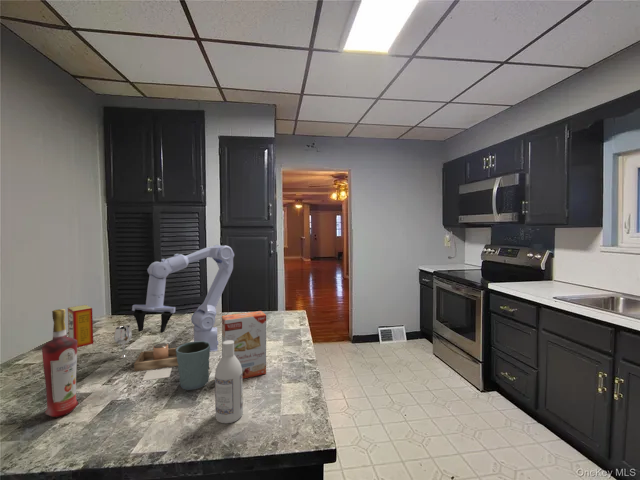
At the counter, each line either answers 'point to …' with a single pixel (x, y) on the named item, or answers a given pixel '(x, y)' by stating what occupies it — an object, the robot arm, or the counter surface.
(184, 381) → the green cup
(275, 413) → the counter surface
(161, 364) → the brown wooden shallow tray
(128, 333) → the wineglass
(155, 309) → the robot arm
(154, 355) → the pot
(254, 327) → the cracker box
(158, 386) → the counter surface
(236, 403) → the bath foam
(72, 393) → the liquor
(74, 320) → the baking soda box
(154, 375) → the tile
